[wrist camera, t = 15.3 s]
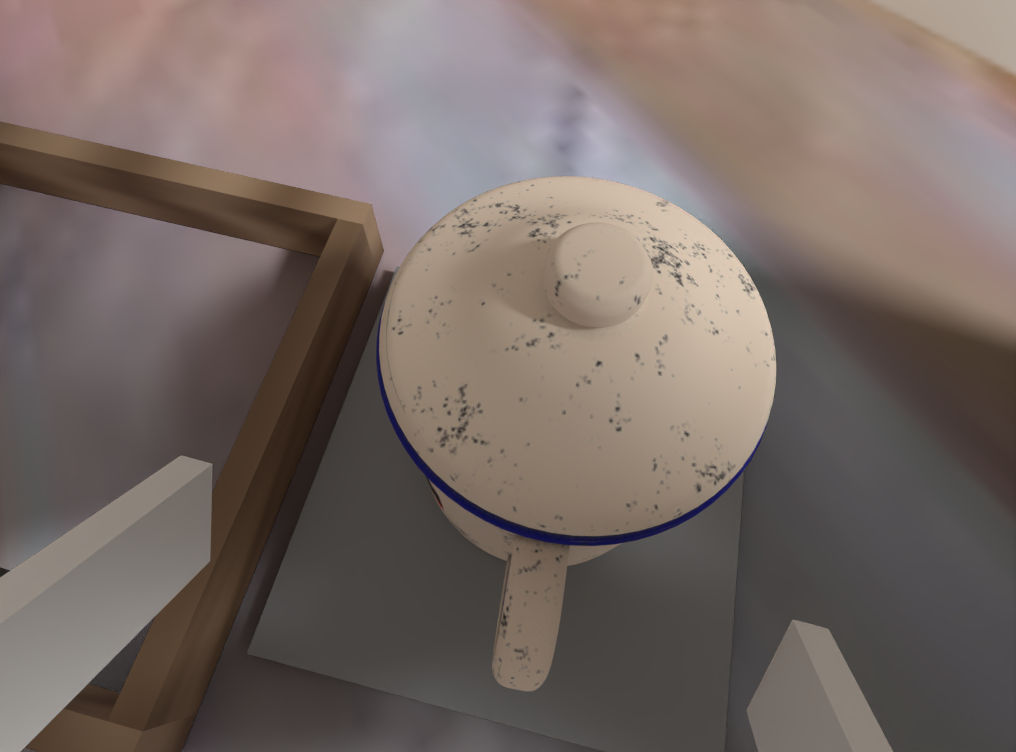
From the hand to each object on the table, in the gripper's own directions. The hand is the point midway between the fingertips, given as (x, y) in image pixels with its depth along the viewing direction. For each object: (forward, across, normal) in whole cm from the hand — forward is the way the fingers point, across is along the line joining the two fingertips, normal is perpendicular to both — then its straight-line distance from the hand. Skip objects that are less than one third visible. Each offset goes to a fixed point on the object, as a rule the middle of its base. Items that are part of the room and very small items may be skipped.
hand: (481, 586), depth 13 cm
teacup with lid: (+8, +1, -2) cm, 8 cm away
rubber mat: (+8, +1, -2) cm, 8 cm away
